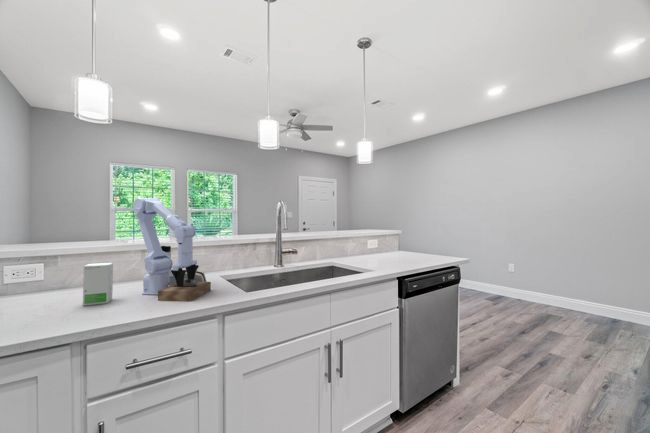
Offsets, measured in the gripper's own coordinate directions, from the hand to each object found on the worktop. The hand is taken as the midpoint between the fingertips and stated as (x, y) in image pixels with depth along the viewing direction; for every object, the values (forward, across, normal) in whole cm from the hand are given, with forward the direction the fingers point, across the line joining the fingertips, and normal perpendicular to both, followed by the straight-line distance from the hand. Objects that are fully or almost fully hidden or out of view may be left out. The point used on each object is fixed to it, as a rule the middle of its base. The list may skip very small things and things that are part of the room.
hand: (185, 283), depth 118 cm
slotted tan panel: (+5, 0, 0) cm, 5 cm away
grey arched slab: (+5, +13, +7) cm, 15 cm away
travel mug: (+5, +18, +23) cm, 29 cm away
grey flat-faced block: (+5, 0, 0) cm, 5 cm away
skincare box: (+5, -12, +30) cm, 33 cm away
